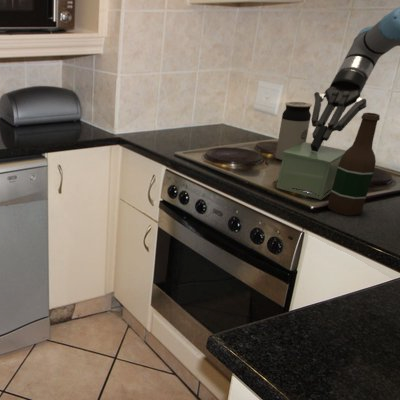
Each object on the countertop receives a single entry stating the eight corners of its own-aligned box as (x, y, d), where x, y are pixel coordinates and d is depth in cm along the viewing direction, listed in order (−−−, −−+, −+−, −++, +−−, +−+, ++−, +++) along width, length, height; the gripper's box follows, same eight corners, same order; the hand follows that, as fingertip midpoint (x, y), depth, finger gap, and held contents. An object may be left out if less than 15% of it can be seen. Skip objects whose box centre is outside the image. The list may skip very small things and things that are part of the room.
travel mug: (269, 157, 158) (278, 102, 152) (287, 154, 161) (297, 100, 154) (289, 163, 151) (299, 106, 145) (308, 160, 154) (319, 104, 147)
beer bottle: (355, 205, 121) (383, 111, 112) (367, 217, 114) (398, 118, 105) (321, 202, 123) (346, 109, 113) (331, 214, 116) (359, 116, 106)
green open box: (321, 200, 124) (330, 164, 120) (275, 187, 132) (283, 153, 128) (338, 187, 133) (347, 153, 129) (295, 176, 140) (302, 144, 136)
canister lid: (329, 164, 120) (330, 161, 119) (282, 154, 127) (282, 151, 127) (347, 153, 129) (348, 150, 128) (302, 144, 136) (303, 141, 136)
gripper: (378, 90, 128) (341, 161, 124) (326, 83, 137) (290, 150, 133) (379, 71, 123) (340, 146, 119) (324, 66, 132) (286, 135, 128)
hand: (314, 148), depth 126 cm, fingers closed
